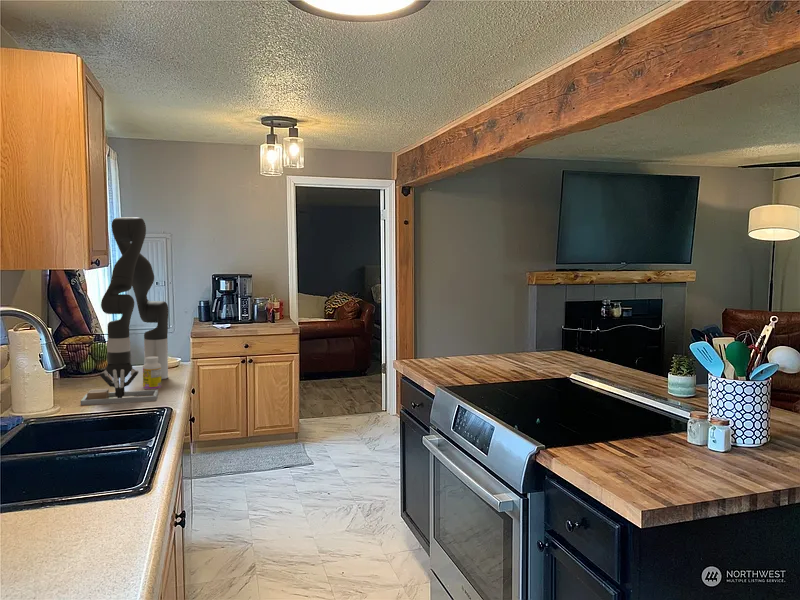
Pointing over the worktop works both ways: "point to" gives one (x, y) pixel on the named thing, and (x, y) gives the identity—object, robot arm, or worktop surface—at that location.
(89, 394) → the block
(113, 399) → the tray
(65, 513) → the worktop surface
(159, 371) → the supplement bottle
